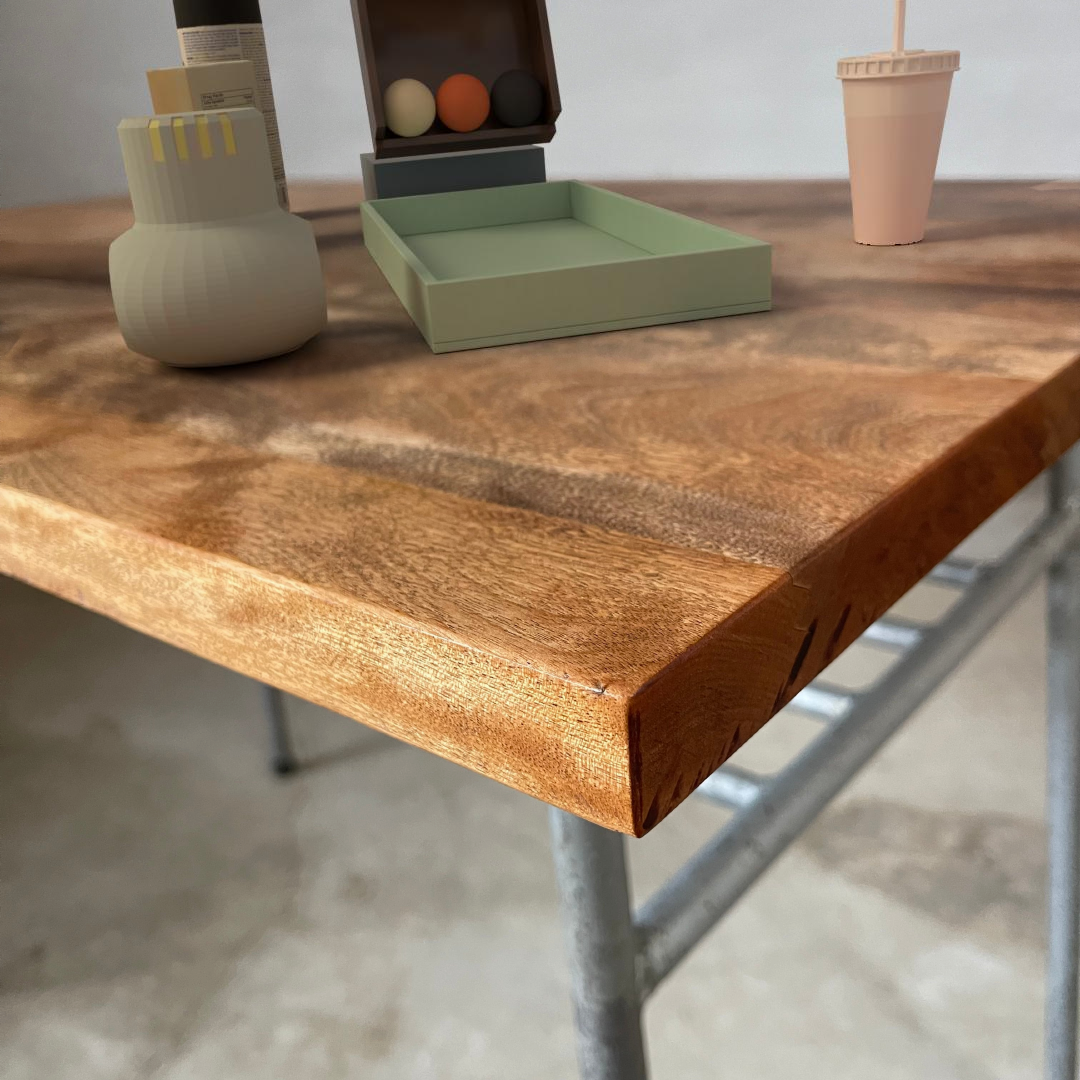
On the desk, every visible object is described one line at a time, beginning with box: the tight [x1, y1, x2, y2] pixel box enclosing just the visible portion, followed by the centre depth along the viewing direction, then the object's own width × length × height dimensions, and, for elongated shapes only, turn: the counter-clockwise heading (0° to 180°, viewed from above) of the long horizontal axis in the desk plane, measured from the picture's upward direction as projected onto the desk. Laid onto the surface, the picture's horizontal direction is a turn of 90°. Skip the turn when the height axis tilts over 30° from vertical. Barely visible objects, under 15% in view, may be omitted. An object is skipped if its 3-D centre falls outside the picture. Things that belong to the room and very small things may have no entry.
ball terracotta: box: [435, 74, 490, 132], centre depth 74 cm, size 4×4×4 cm
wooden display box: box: [349, 0, 563, 160], centre depth 70 cm, size 14×12×12 cm
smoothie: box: [834, 0, 962, 246], centre depth 61 cm, size 6×6×14 cm
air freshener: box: [108, 108, 328, 368], centre depth 48 cm, size 11×8×10 cm
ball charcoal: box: [490, 69, 544, 127], centre depth 74 cm, size 4×4×4 cm
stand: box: [359, 144, 547, 201], centre depth 84 cm, size 11×12×5 cm
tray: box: [358, 178, 773, 354], centre depth 62 cm, size 33×15×3 cm, turn 13°
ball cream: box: [381, 79, 436, 137], centre depth 73 cm, size 4×4×4 cm
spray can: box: [172, 0, 291, 213], centre depth 90 cm, size 7×7×20 cm
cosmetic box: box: [145, 60, 262, 115], centre depth 78 cm, size 6×4×12 cm
